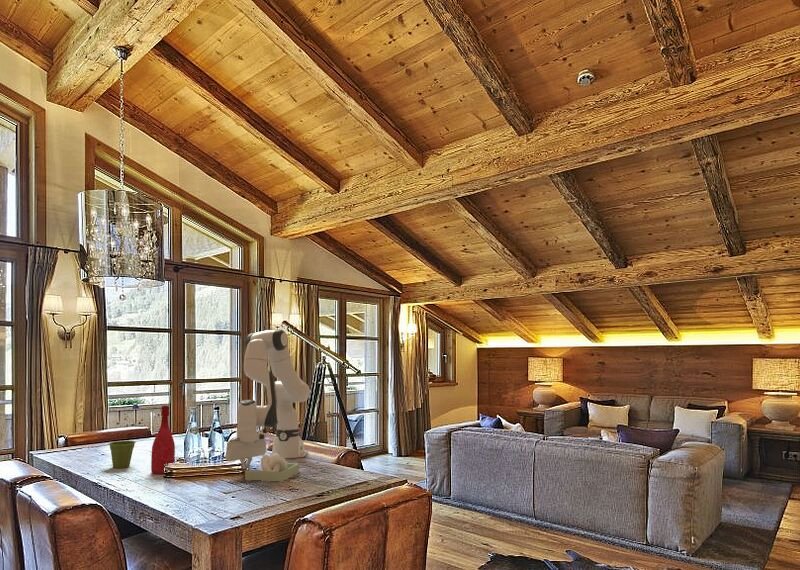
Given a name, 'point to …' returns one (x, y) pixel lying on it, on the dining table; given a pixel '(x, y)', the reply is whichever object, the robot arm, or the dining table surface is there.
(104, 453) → the dining table surface
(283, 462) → the cream lumpy rounded piece
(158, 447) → the wine bottle
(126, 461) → the plant pot
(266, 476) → the frame
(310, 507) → the dining table surface
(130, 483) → the dining table surface
